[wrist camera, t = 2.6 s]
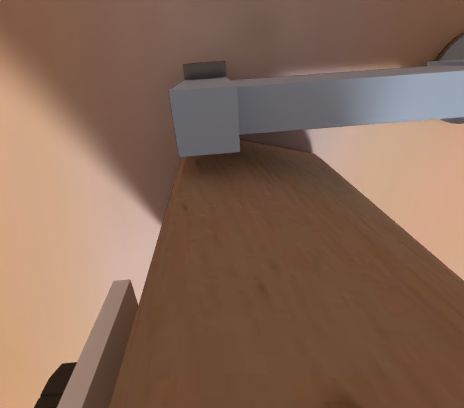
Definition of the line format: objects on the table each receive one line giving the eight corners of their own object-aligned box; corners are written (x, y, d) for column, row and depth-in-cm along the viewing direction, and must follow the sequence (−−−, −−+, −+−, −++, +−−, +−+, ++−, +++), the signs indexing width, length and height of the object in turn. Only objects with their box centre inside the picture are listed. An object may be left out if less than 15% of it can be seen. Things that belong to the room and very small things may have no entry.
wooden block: (188, 126, 19) (-113, 1052, 1) (321, 152, 20) (1038, 719, 3) (173, 244, 23) (59, 819, 6) (284, 257, 25) (469, 738, 7)
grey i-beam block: (191, 118, 18) (178, 156, 11) (184, 63, 17) (164, 65, 9) (442, 99, 19) (596, 122, 11) (457, 45, 17) (645, 31, 10)
